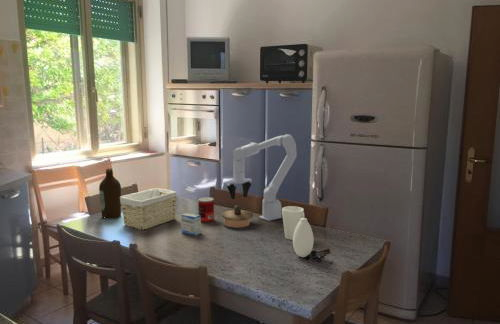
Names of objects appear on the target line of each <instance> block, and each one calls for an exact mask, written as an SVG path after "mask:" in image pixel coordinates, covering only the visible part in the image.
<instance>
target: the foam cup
mask: <svg viewBox="0 0 500 324" xmlns="http://www.w3.org/2000/svg"><path fill="white" fill-rule="evenodd" d="M304 211H305V210H304V208H303V207H300V206H296V205H295V206H293V205H292V206H291V205H288V206H284V207H281V216H282V222H283V231H284V238H285V239H287V240H291V241H293V235H294V231H295V228H296V226H297V224H298V223H299V222H300V219H301V218H303V213H304V214H305V212H304Z"/></svg>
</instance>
